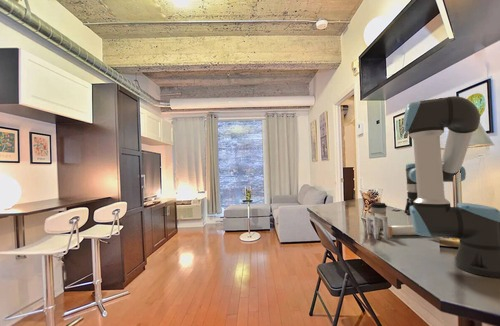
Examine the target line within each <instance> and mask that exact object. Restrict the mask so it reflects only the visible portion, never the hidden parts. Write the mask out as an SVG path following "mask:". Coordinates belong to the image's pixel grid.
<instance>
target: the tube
mask: <svg viewBox="0 0 500 326" xmlns="http://www.w3.org/2000/svg"><path fill="white" fill-rule="evenodd" d="M416 235H417V236H419V235H418V234H417V233H416V232H415V230H414V227H413V225H408V224H407V225H389V224H388V238H392V237H393V236H416Z"/></svg>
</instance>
